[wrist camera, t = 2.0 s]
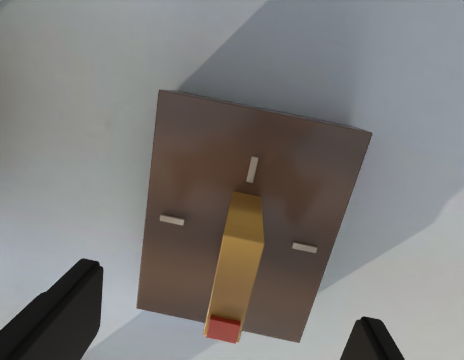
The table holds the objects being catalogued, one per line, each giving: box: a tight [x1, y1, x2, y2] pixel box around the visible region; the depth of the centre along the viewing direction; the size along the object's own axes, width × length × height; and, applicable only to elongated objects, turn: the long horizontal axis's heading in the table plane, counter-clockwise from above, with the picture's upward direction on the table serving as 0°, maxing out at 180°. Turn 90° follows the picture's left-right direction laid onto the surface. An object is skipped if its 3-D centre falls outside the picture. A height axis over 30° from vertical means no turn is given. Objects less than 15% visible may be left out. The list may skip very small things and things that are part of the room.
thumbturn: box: [203, 191, 264, 344], centre depth 13 cm, size 5×2×5 cm, turn 169°
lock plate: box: [136, 90, 372, 343], centre depth 17 cm, size 14×11×3 cm
